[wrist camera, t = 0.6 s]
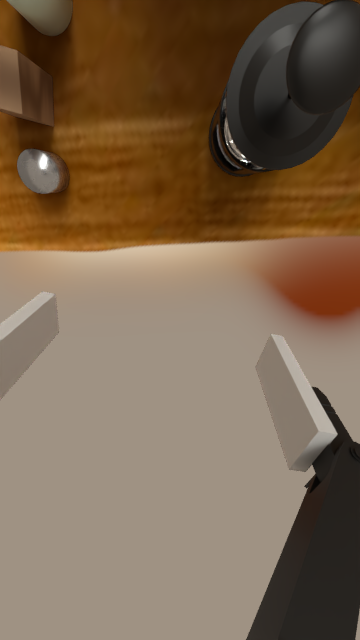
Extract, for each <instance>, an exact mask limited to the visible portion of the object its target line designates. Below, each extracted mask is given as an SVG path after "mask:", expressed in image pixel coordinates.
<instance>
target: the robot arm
mask: <svg viewBox="0 0 360 640" xmlns="http://www.w3.org/2000/svg"><path fill="white" fill-rule="evenodd" d="M58 333H59V327H58V315H57V304H56V294H53V293H48V292H41V293H40V294H39V295H37V296H36V297H35V298H33V299H32V300H31V301H29V302H28V303H27V304H25V305H24V306H23V307H22V308H20V309H19V310H18V311H16V312H15V313H14V314H12V315H11V316H10V317H8V318H7V319H6V320H4V321H3V322H2V323H1V324H0V400H1V399H2V398H3V396H4V395H5V394H6V393H7V392H8V391H9V389H10V388H11V387H12V386H13V385H14V384H15V382H17V380H18V379H19V378H20V377H21V376H22V375H23V373H24V372H25V371H26V370H27V369H28V368H29V366H30V365H31V364H32V363H33V362H34V361H35V359H36V358H37V357H38V356H39V355H40V354H41V353H42V351H43V350H44V349H45V348H46V347H47V346H48V344H49V343H50V342H51V341H52V340H53V339H54V338H55V336H56V335H57V334H58ZM256 370H257V373H258V376H259V379H260V382H261V385H262V388H263V392H264V395H265V398H266V401H267V404H268V407H269V410H270V413H271V416H272V419H273V422H274V425H275V428H276V431H277V434H278V437H279V440H280V444H281V447H282V449H283V453H284V456H285V459H286V462H287V465H288V468H289V470H296V471H302V472H306V471H307V470H308V468H309V467H310V466H311V465H313V467H314V470H315V472H316V474H315V475H314V476H313V477H312V478H311V480H310V481H309V482H308V483H307V484H306V485H305V487H306V488H308V489H307V492H306V494H305V497H304V499H303V502H302V504H301V507H300V509H299V512H298V514H297V517H296V519H295V521H294V524H293V526H292V529H291V531H290V534H289V536H288V538H287V541H286V543H285V546H284V548H283V551H282V553H281V556H280V558H279V560H278V563H277V565H276V568H275V570H274V573H273V575H272V578H271V580H270V583H269V585H268V588H267V590H266V592H265V595H264V597H263V600H262V602H261V605H260V607H259V610H258V612H257V615H256V617H255V620H254V622H253V624H252V627H251V629H250V632H249V634H248V637H247V639H246V640H355V637H356V630H357V623H358V616H359V609H360V444H358V443H356V442H353V440H352V439H351V437H350V435H349V433H348V432H347V430H346V429H345V427H344V425H343V424H342V422H341V421H340V419H339V417H338V415H337V414H336V412H335V410H334V409H333V407H331V404H330V402H329V400H328V399H327V397H326V396H325V395H324V394H323V393H322V392H321V391H320V390H319V389H318V388H316V387H311V386H310V384H309V382H308V380H307V378H306V377H305V375H304V373H303V371H302V370H301V368H300V366H299V364H298V363H297V361H296V359H295V357H294V355H293V353H292V352H291V350H290V348H289V346H288V345H287V343H286V341H285V339H284V338H283V336H279V335H274V334H270V337H269V339H268V341H267V343H266V345H265V347H264V350H263V352H262V354H261V356H260V359H259V361H258V363H257V365H256Z"/></svg>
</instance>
